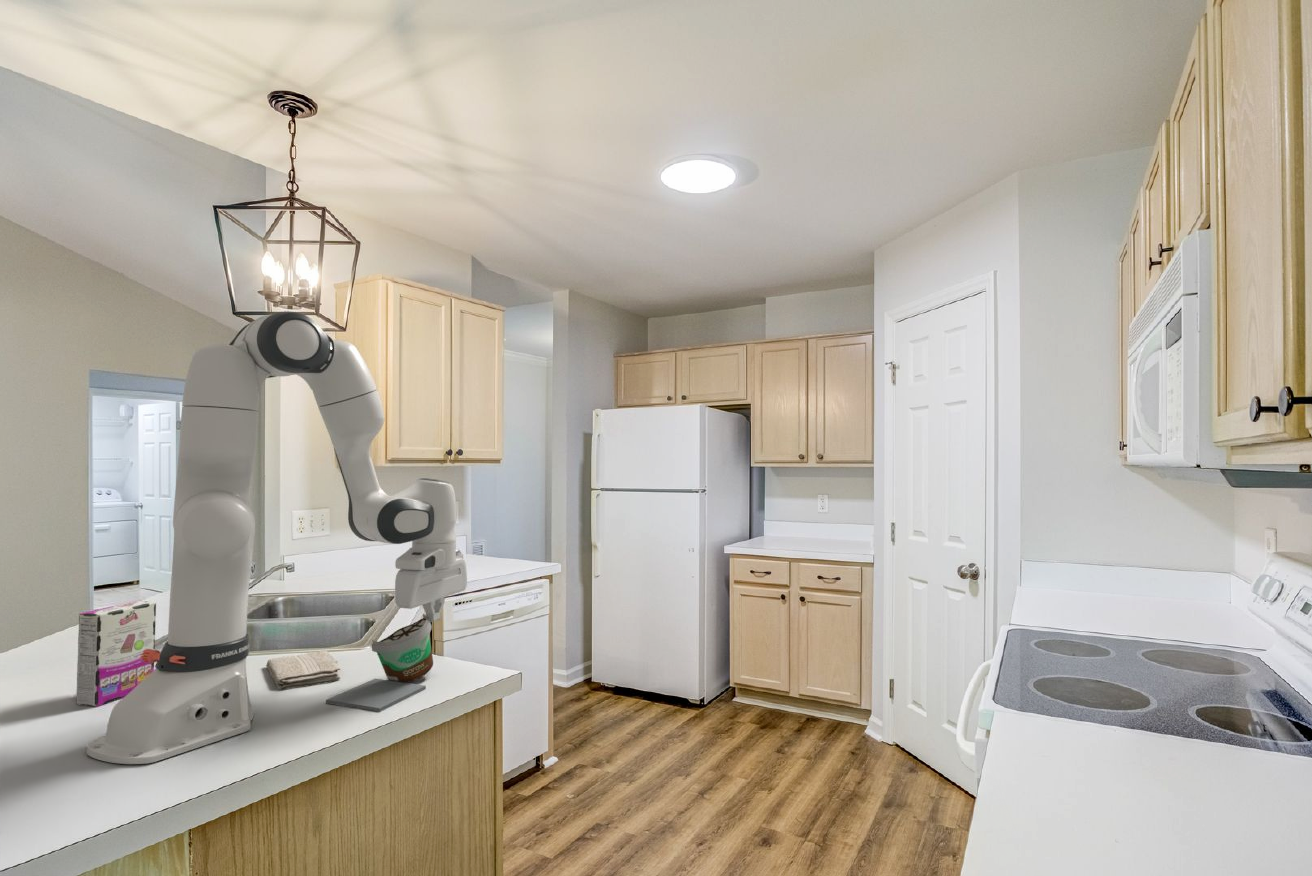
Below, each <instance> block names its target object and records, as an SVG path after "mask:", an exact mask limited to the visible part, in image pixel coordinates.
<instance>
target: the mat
mask: <svg viewBox="0 0 1312 876" xmlns="http://www.w3.org/2000/svg"><path fill="white" fill-rule="evenodd" d="M426 687H427V686H426V685H425V684H424V685H421V684H415V683H410V682H407V683H403V682H396V681H389V680H388V679H382V678H381V679H380V678H373V679H371V680H369V681H366V682H364V683H361V684H359V685H357V686H354V687H351V688H350V689H348V690H345V691H342V692H339V693H337V694H336V695H333V696H331V697H329V698H326V699H325V703H326V704H332V705H336V704H338V705H337V706H342V705H343V706H344V707H348V706H349V708H356V709H360V708H362V709H361V710H366V709H367V710H368V711H372V712H373V711H374V712H382V711H383V710H386V709H388V708H390V707H393V706H394V705H396V704H399V703H400V702H402V701H404V700H406V699H408V698H410V697H413V696H414V695H416V694H418V693H420V692H422V691H424V690H426V689H427V688H426Z"/></svg>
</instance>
